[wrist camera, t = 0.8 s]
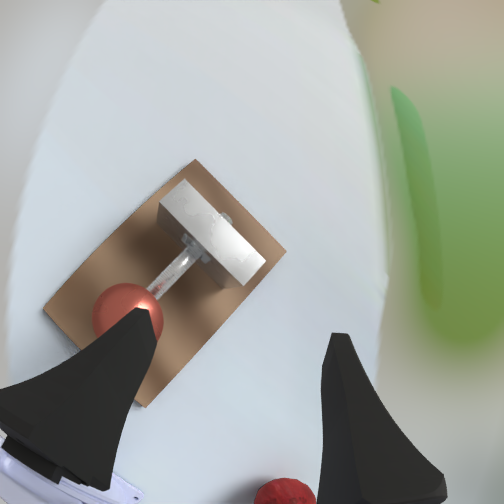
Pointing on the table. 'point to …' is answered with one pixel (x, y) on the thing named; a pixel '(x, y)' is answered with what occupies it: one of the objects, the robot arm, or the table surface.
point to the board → (149, 267)
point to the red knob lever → (143, 293)
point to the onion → (285, 492)
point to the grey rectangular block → (208, 236)
